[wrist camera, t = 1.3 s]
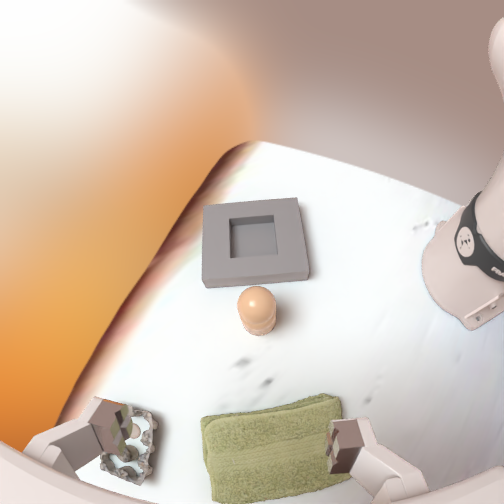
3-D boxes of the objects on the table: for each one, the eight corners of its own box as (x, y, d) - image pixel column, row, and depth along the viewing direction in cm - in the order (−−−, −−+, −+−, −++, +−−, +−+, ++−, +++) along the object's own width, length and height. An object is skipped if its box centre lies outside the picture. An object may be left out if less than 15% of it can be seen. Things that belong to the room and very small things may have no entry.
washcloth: (198, 415, 34) (192, 416, 31) (334, 389, 35) (340, 388, 32) (217, 504, 28) (212, 512, 25) (353, 478, 28) (360, 484, 26)
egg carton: (116, 399, 35) (102, 397, 31) (165, 415, 34) (153, 415, 30) (104, 464, 30) (89, 467, 27) (152, 483, 29) (140, 490, 25)
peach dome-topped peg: (274, 302, 40) (274, 278, 33) (277, 334, 38) (278, 317, 31) (241, 305, 40) (234, 281, 33) (243, 336, 38) (235, 320, 31)
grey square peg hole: (296, 209, 47) (297, 197, 44) (307, 280, 41) (309, 271, 39) (207, 217, 48) (203, 205, 45) (206, 288, 42) (201, 279, 39)
